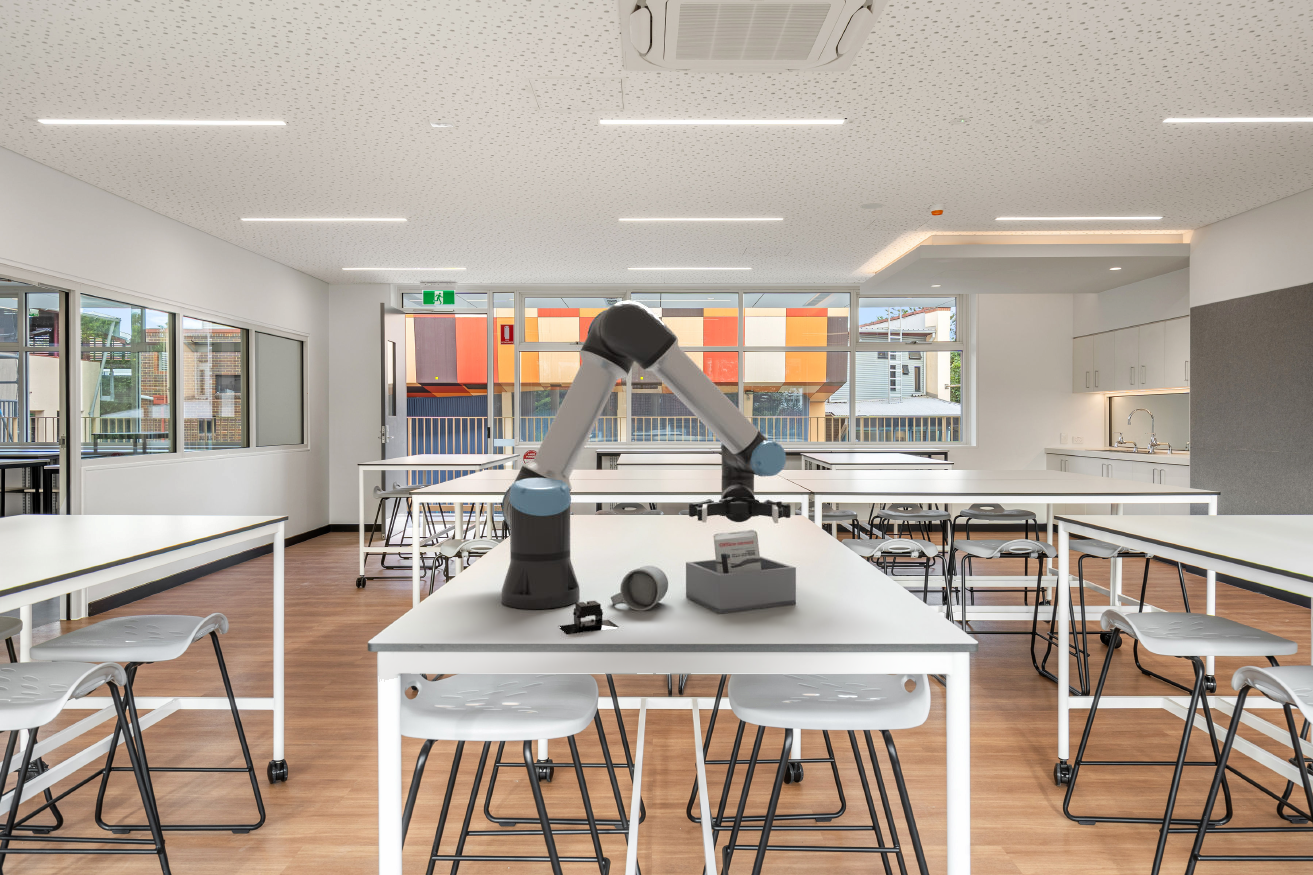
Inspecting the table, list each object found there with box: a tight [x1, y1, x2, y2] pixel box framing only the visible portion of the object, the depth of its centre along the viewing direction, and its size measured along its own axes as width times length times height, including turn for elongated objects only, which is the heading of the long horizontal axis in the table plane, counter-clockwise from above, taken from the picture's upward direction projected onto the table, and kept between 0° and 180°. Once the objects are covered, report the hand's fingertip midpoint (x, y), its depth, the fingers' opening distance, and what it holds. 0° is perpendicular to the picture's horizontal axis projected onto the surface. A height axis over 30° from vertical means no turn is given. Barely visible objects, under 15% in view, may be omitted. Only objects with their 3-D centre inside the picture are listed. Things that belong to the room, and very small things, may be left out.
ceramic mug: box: [610, 565, 669, 612], centre depth 138 cm, size 11×8×8 cm
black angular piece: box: [559, 600, 620, 635], centre depth 123 cm, size 12×7×5 cm, turn 115°
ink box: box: [713, 529, 761, 574], centre depth 141 cm, size 8×5×12 cm, turn 87°
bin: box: [685, 556, 797, 615], centre depth 141 cm, size 14×17×7 cm
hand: (740, 515), depth 137 cm, fingers open, 13 cm apart
